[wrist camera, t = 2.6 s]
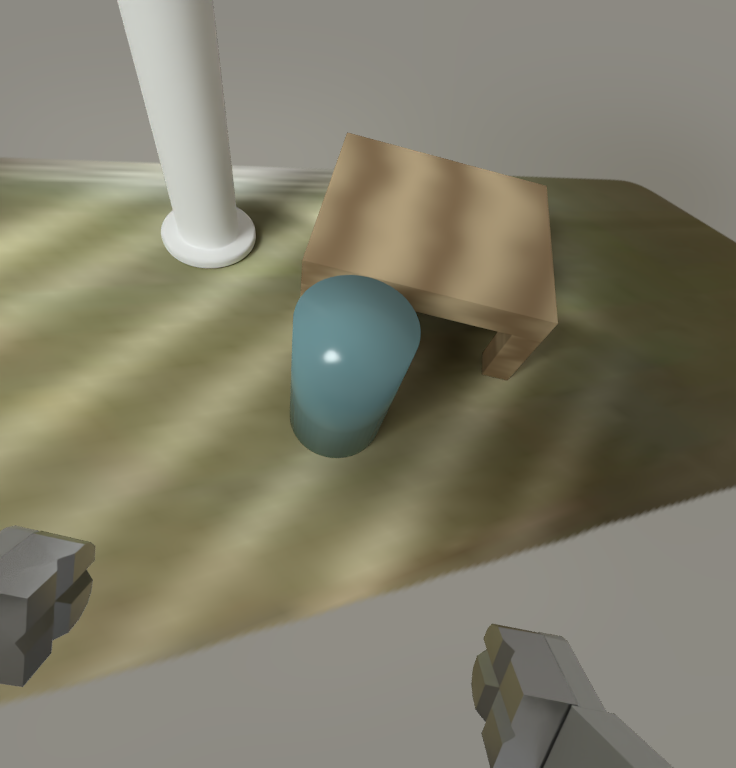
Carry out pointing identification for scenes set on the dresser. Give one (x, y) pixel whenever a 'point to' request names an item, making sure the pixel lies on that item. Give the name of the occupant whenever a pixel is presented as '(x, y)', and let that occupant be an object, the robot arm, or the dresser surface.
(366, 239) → the small wooden stool
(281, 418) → the dresser surface
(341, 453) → the teal domed cylinder
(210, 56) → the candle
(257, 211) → the dresser surface
